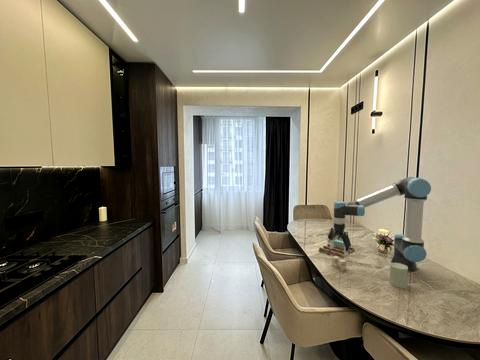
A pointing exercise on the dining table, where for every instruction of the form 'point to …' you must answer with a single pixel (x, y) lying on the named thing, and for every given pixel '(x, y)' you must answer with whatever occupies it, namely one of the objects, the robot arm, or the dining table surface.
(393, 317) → the dining table surface
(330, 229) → the sugar bowl
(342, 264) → the maple bar
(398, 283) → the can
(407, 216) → the robot arm
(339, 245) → the teal bar
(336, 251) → the slot rack
